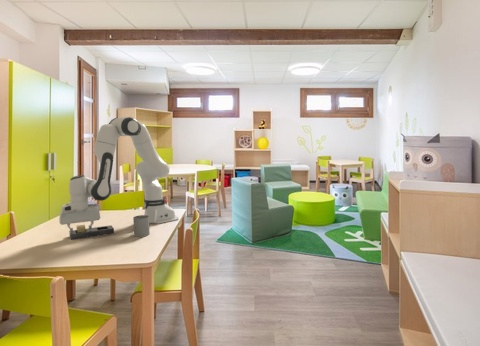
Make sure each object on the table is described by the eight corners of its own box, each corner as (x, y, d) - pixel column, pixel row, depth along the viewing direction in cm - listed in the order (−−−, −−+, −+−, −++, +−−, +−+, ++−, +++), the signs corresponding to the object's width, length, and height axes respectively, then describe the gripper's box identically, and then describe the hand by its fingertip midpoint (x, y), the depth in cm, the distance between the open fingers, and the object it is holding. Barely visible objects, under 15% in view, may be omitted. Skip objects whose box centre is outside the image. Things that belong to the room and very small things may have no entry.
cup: (151, 232, 194) (150, 215, 193) (147, 236, 186) (147, 218, 185) (136, 232, 194) (135, 215, 192) (132, 236, 185) (131, 218, 184)
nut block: (85, 235, 190) (84, 224, 189) (85, 236, 186) (85, 226, 185) (77, 236, 188) (76, 225, 187) (77, 238, 184) (77, 227, 183)
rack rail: (111, 230, 199) (111, 225, 198) (114, 233, 192) (113, 228, 191) (69, 236, 188) (69, 230, 187) (70, 240, 181) (70, 234, 180)
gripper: (99, 202, 193) (100, 226, 194) (58, 206, 183) (60, 231, 184) (100, 204, 187) (102, 228, 189) (58, 208, 177) (60, 234, 179)
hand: (81, 230), depth 187 cm, fingers open, 8 cm apart
